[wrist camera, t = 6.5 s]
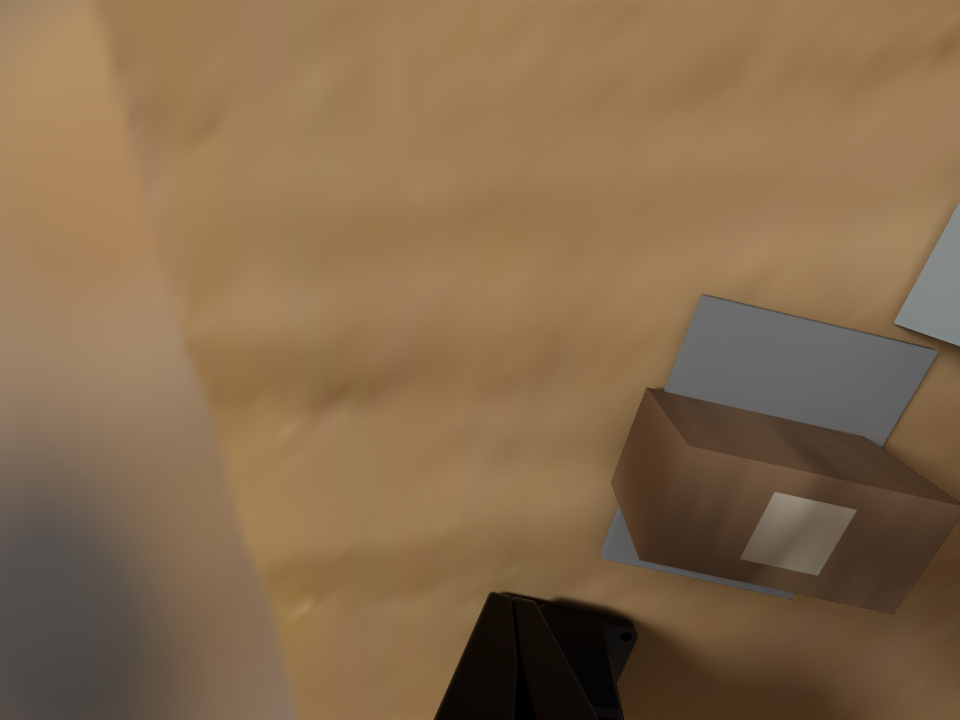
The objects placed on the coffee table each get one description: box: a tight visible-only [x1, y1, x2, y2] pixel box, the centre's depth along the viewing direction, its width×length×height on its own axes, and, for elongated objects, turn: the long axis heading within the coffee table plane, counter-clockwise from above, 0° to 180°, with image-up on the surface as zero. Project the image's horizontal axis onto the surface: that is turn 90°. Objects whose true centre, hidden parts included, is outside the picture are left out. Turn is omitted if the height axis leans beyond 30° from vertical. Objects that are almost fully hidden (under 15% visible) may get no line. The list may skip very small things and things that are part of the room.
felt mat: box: [600, 294, 939, 599], centre depth 18 cm, size 11×8×1 cm
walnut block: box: [611, 387, 960, 614], centre depth 16 cm, size 4×4×8 cm
